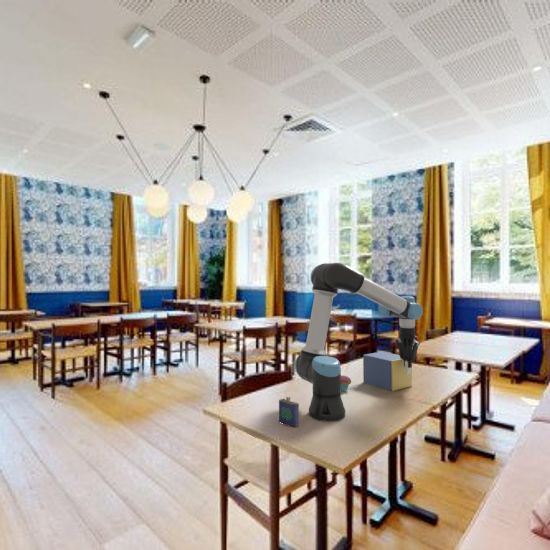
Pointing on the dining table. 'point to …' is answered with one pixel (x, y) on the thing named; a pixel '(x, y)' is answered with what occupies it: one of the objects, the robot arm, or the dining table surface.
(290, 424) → the flask
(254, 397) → the dining table surface
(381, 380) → the open box
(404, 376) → the tan boxy piece
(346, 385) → the cupcake
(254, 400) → the dining table surface
